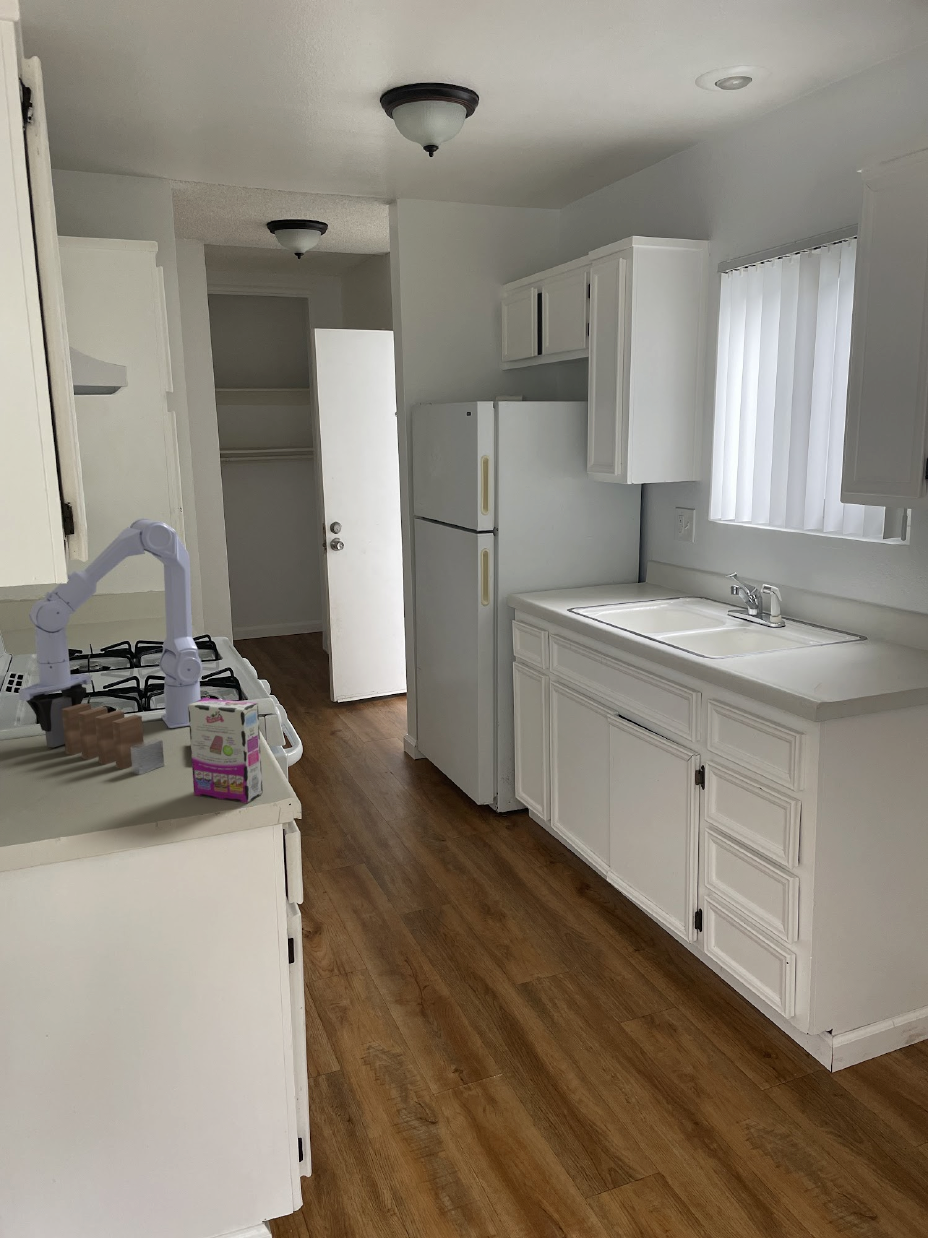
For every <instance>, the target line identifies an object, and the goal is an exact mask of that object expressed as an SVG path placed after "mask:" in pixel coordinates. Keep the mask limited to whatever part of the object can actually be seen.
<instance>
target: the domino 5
mask: <svg viewBox="0 0 928 1238" xmlns="http://www.w3.org/2000/svg"><path fill="white" fill-rule="evenodd" d="M124 717H125V718H122V719H119V720H115V721H112V724H113V736H114V748H115V760H116V761H115V768H117V769H120V770H126V769H129V768H132V760H131V747H132V746H135V745H138V744H140V743H143V742H145V741H144V740H145V739H144V730H143V716H142V715H138V714H132V715H129V716H124Z"/></svg>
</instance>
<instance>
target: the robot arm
mask: <svg viewBox="0 0 928 1238" xmlns="http://www.w3.org/2000/svg"><path fill="white" fill-rule="evenodd" d="M146 552H147V553H149V554H151V555H152V556H153V557H155V559H157V560H158V561H160V563H162V564H163V579H164V580H163V581H164V601H165V602H164V603H165V605H164V607H165V609H164V610H165V629H166V631H165V632H166V633H165V634H166V636H165V639H164V642H163V643H162V653H161V655H160V656H159V657H160V658H159V663H158V664H159V665H158V666H159V668H160V670H161V672H162V673H164V675H165V677H164V680H163V682H164V689H163V694H164V698H163V699H164V711H165V714H161V715H160V717H161V719H162V720H163V722H164V723H165V725H166V726H167V728H168V729H174V728H183V727H187V726H189V727H190V725H189V711H188V705H189V704H192V703H194V702H196V701H198V700H201V699H202V698H201V686H200V685H201V683H200V678H201V676H202V674H203V669H204V666H203V663H202V660H201V659H200V657H199V648H198V647H197V644H196V643H195V640H194V639H193V627H192V626H193V624H192V623H193V622H192V618H193V616H192V593H191V590H192V589H191V563H190V561H191V560H190V559H191V558H190V553H189V551H188V550H187V549H186V547H185V546H184V544H183V543H182V541H181V539H180V537H179V536H178V532H177V531H176V530H175V529H174V528H173V527H171V526H170V525H168V524H167V523H165V522H162V521H155V520H151V519H148V518H140V519H136V520H135V521H133V522H132V523H131V525H130V526H129V527H126V528H124V529H123V530H122V531H121V532H120V533H119V534H118V535H117V537H116V538H115V539H114V540H113V541H112V542H111V543H110V544H109V545H108V546H107V547H106V548H104V550H103V551H102V552H101V553H100V554H99V555H98V556H97V557H96V558H95V559H94V560H93V561H92V562H91V563H90V564H89V565H88V566H87V567H86V568H85V569H84V570H81V571H77V570H75V571H73V572H72V573H70V574H69V573H68V579H69V581H68V582H67V584H61V583H59V584H58V585H57V586H56V587H55V588H54V589H53V590H52V591H51V592H49V591H47V592H46V593H45V594H44V596H45V598H44V599H39V600H38V601H36V602H35V603H34V604H33V605H32V607H31V610H30V613H29V614H28V617H29V620H30V621H31V623H32V624H33V625H34V634H35V640H34V642H35V651H36V653H35V654H36V659H37V660H36V661H37V670H38V671H37V672H38V680H39V682H37V683H34V684H32V685H29V686H26V687H24V688H20V689H18V697H19V698H18V699H19V700H21V701H25V702H26V703H27V704H28V705H29V706H30V708H31V709H32V711H33V713H34V715H35V717H36V718H37V720H38V723H39V726H40V729H41V731H42V732H43V731H44V732H45V731H46V732H49V731H51V704H52V700H53V699H51V698H48V697H47V696H46V695H49V694H52V693H56V692H61V695H62V697H64V696H66V697H71V700H72V706H75V705H78V704H82V703H83V699H84V697H85V696H86V694H87V687H86V686H84V685H90V684H92V681H91V674H89V673H88V674H87V673H81V674H80V673H79V674H76V675H75V674H74V675H71V667H70V656H69V645H68V644H69V643H68V637H67V632H66V631H67V630H66V627H67V626H68V624H69V621H70V616H71V615H73V614H74V613H76V611H77V610H78V609H79V608H81V606H83V605H84V603H86V602H87V601H88V600H89V599H90V598H91V597H92V596H93V595H94V594H96V593H97V583H99V581H100V580H101V579H103V578H104V577H105V576H106V575H107V574H108V573H110V572H111V571H112V570H113V569H115V568H116V567H117V566H118V565H119V564H120V563H121V562H123V561H124V560H125V559H127V558H128V557H133V556H138V555H139V556H141V555H145V554H146Z"/></svg>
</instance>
